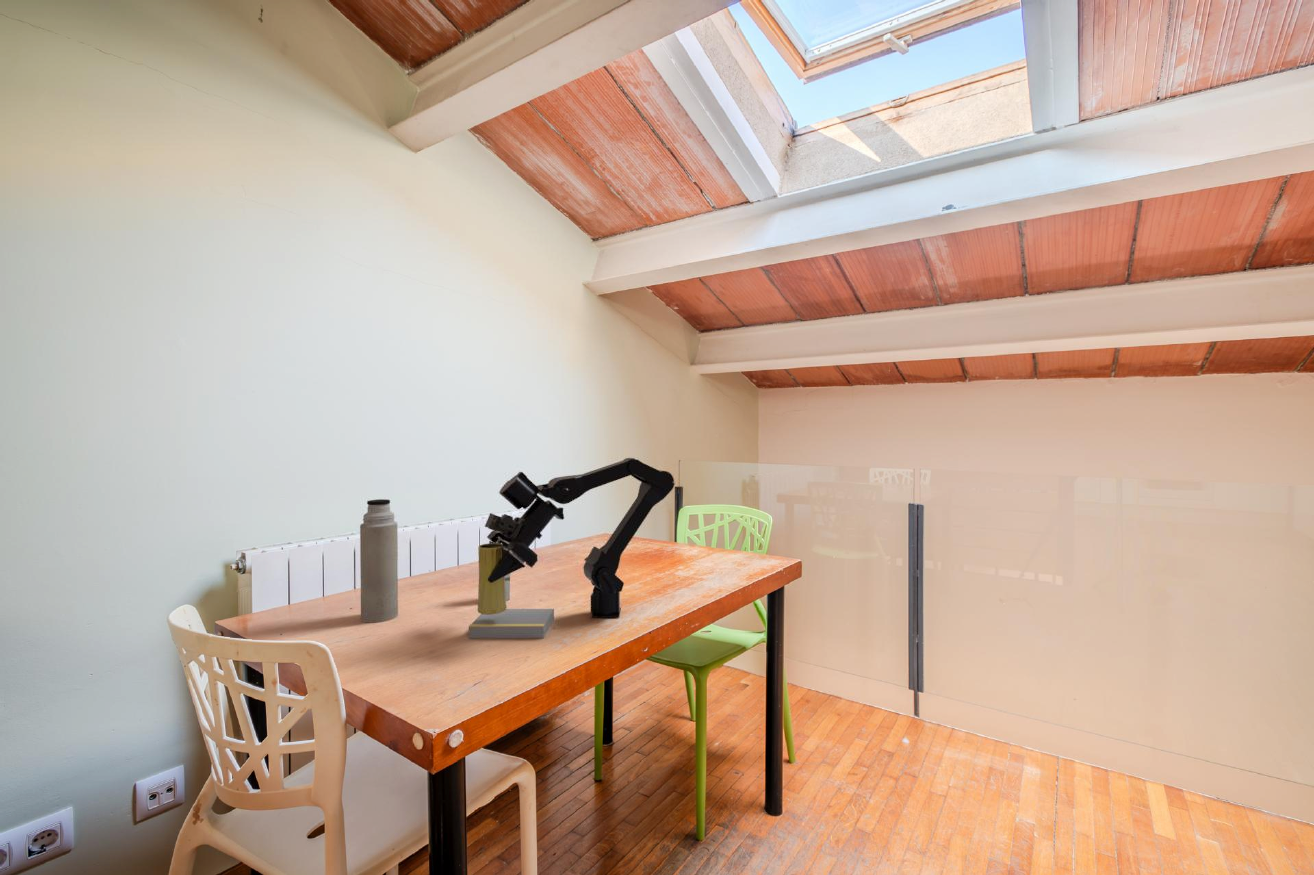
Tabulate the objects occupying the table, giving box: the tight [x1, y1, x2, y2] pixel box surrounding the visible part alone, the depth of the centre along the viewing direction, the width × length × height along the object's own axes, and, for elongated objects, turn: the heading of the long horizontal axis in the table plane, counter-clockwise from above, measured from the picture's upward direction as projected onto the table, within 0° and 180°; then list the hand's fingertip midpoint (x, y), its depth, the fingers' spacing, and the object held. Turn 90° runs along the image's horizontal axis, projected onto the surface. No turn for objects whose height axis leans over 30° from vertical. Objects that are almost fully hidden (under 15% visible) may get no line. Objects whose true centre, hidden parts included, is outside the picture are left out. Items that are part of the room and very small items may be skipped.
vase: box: [477, 542, 508, 615], centre depth 123 cm, size 6×6×14 cm
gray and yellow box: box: [468, 608, 555, 639], centre depth 126 cm, size 16×12×3 cm
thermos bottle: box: [359, 498, 399, 623], centre depth 134 cm, size 8×8×28 cm
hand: (485, 578), depth 122 cm, fingers closed on vase, 5 cm apart
